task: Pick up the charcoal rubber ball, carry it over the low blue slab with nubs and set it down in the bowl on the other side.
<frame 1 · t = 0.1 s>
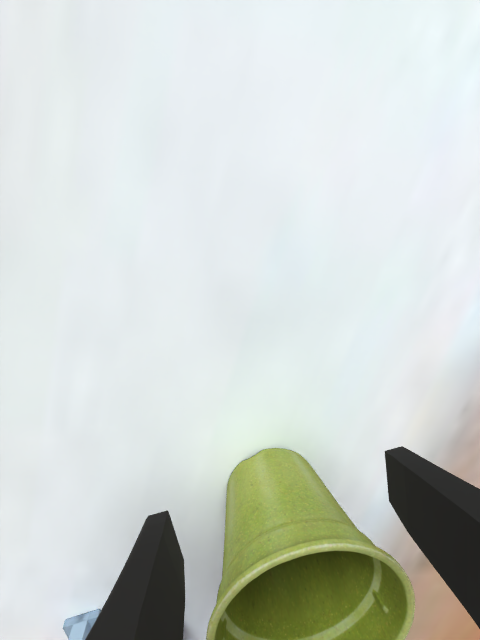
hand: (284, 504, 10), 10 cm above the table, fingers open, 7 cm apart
plant pot: (269, 483, 23), on the table
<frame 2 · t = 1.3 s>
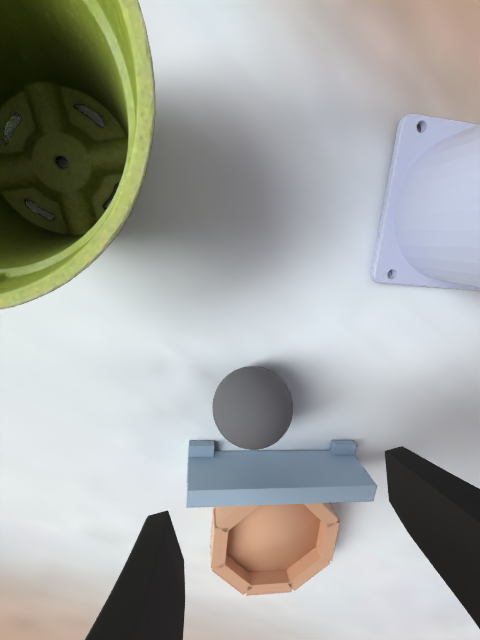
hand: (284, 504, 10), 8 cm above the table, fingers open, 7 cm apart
plant pot: (70, 167, 14), on the table
ball: (246, 388, 18), on the table
bowl: (270, 525, 21), on the table
blue slab with nubs: (272, 457, 19), on the table
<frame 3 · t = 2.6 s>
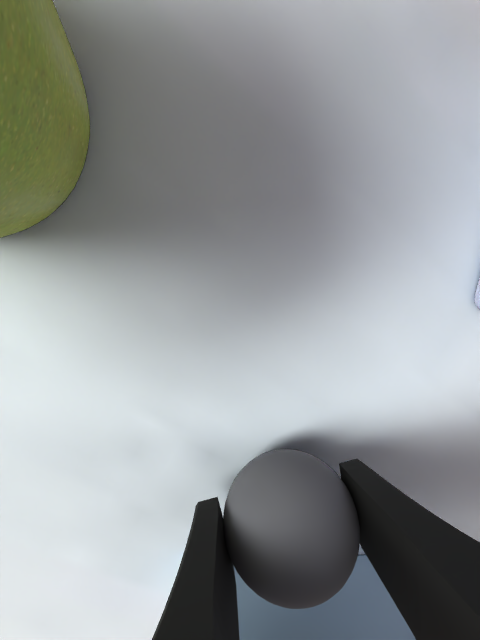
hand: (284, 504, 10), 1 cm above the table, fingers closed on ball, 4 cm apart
ball: (273, 473, 12), on the table, touching gripper
blue slab with nubs: (309, 568, 13), on the table
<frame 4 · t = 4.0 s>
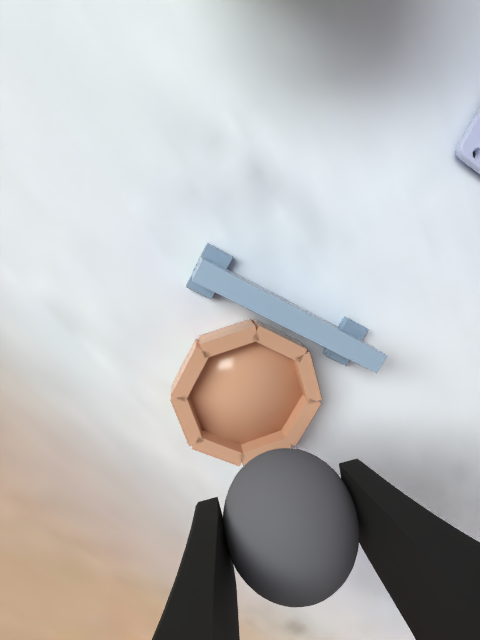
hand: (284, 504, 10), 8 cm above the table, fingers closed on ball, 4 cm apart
ball: (272, 473, 12), point 7 cm above the table, touching gripper
bowl: (244, 388, 18), on the table
blue slab with nubs: (280, 307, 18), on the table
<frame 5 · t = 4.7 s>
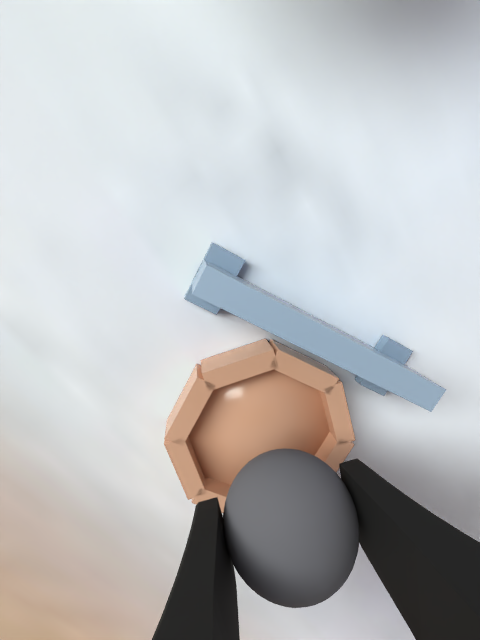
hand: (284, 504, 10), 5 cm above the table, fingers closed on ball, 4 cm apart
ball: (272, 473, 12), point 3 cm above the table, touching gripper
bowl: (257, 423, 15), on the table
blue slab with nubs: (303, 323, 14), on the table
when the fingers open (3 cm above the table, at t = 5.4 s): ball stays where it is, resting on bowl.
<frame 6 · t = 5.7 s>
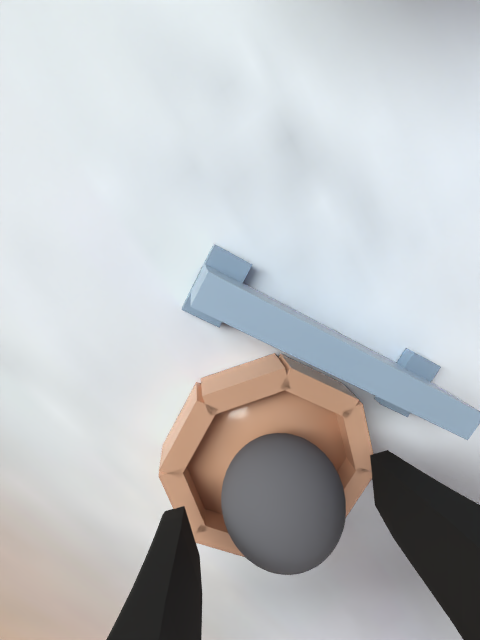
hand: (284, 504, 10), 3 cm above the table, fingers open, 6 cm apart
ball: (267, 457, 13), point 1 cm above the table, touching bowl
bowl: (265, 448, 13), on the table
blue slab with nubs: (317, 336, 12), on the table
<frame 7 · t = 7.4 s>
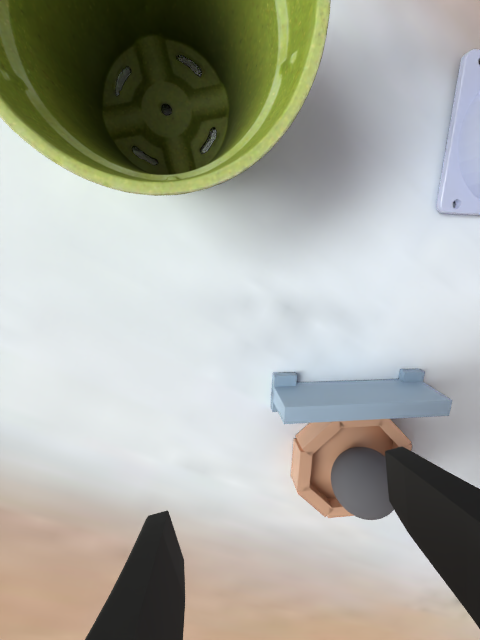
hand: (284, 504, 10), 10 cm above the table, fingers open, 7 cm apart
plant pot: (169, 116, 16), on the table
ball: (348, 460, 22), point 1 cm above the table, touching bowl
bowl: (345, 454, 22), on the table
blue slab with nubs: (346, 387, 21), on the table
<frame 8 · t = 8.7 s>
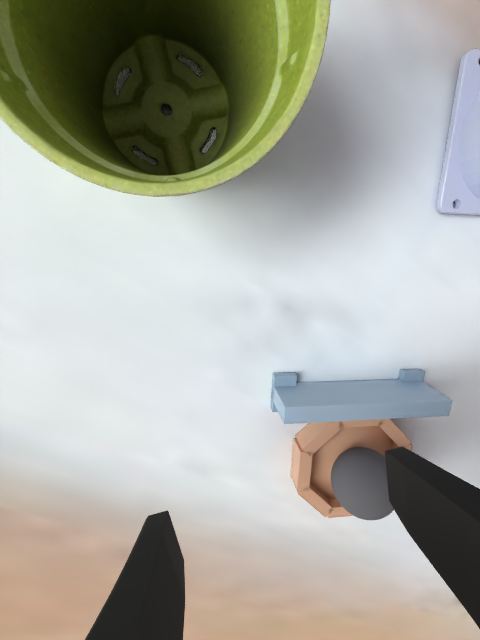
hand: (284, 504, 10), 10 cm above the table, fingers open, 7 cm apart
plant pot: (169, 116, 16), on the table
ball: (348, 460, 22), point 1 cm above the table, touching bowl
bowl: (345, 454, 22), on the table
blue slab with nubs: (346, 387, 21), on the table
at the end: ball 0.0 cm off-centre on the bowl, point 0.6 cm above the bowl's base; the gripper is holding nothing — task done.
